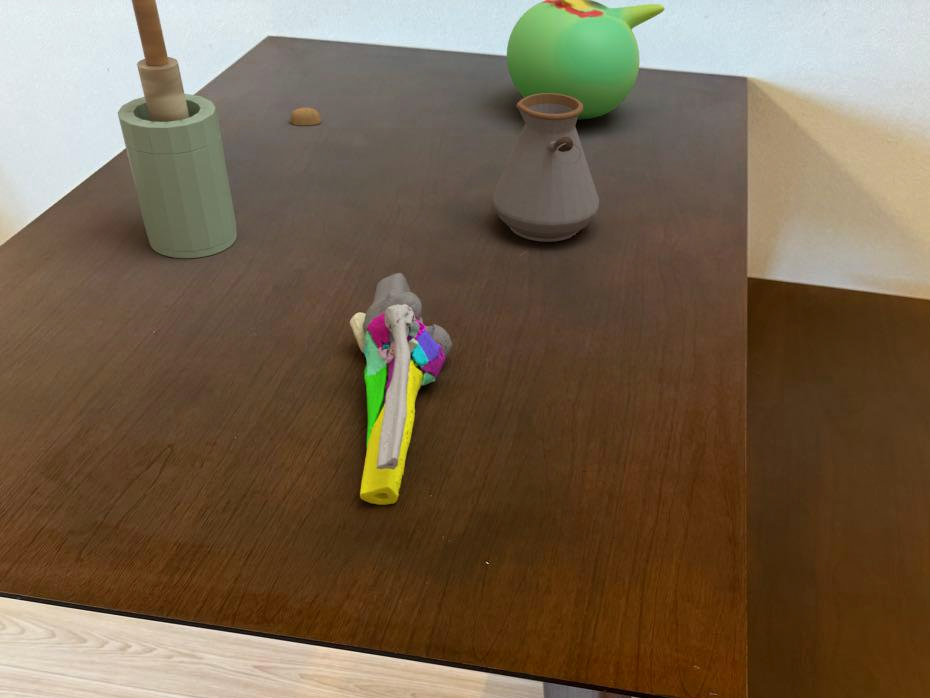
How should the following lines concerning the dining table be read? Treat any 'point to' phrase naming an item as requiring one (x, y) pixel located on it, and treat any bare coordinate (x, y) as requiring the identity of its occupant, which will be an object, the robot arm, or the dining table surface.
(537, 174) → the coffee pot
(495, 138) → the dining table surface
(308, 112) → the potato
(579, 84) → the toy bird
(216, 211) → the pale green cup
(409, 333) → the knee model
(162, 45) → the wooden pestle
